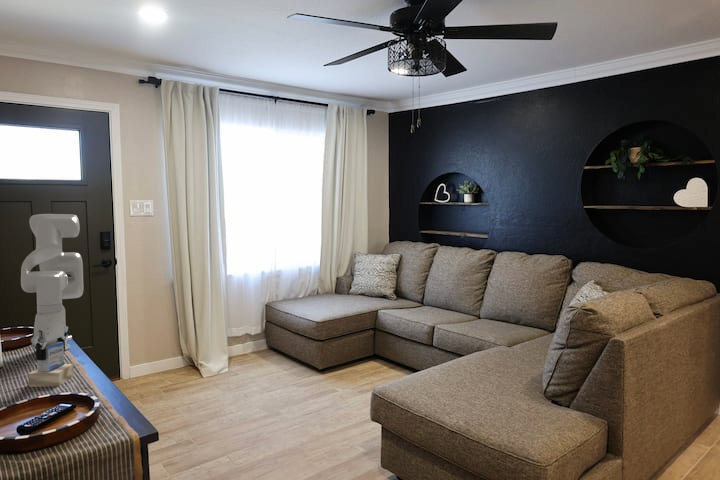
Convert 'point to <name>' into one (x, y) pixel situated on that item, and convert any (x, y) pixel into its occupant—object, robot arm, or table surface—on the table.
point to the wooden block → (51, 376)
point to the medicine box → (52, 357)
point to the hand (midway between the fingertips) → (51, 355)
